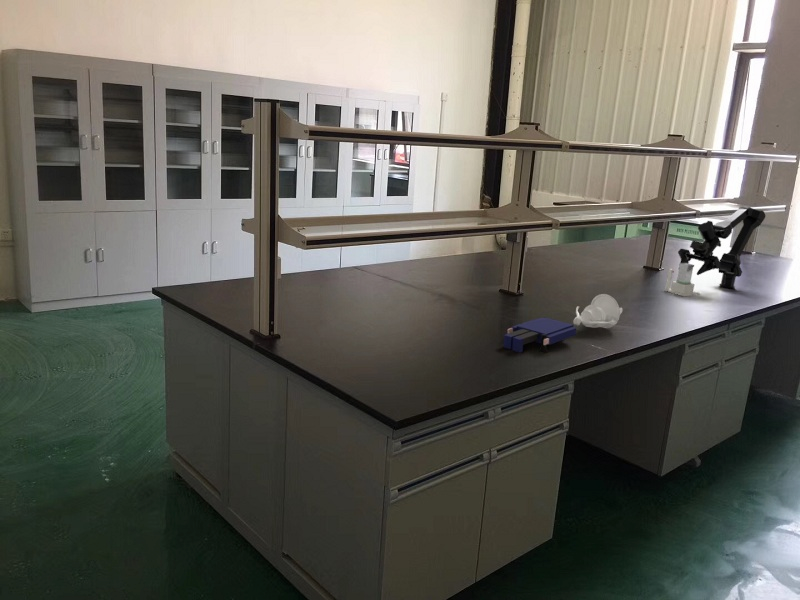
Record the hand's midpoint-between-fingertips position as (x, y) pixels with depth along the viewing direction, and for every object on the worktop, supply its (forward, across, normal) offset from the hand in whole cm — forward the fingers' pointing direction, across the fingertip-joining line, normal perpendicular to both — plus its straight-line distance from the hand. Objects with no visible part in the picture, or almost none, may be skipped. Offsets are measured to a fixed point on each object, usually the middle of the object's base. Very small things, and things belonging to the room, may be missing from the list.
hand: (688, 272), depth 293 cm
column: (+8, 0, +5) cm, 10 cm away
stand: (+8, 0, +5) cm, 10 cm away
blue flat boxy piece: (+90, +29, -74) cm, 120 cm away
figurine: (+67, +26, -52) cm, 89 cm away
